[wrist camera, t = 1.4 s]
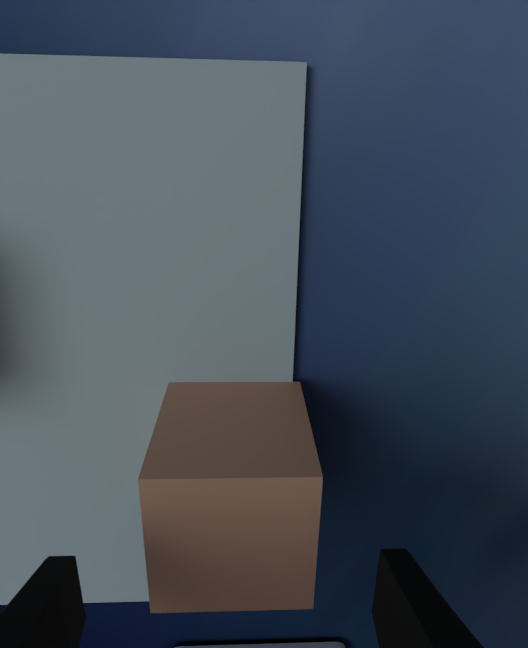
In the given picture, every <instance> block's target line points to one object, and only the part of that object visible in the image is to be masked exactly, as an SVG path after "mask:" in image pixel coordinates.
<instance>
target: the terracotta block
mask: <svg viewBox="0 0 528 648" xmlns="http://www.w3.org/2000/svg"><path fill="white" fill-rule="evenodd" d="M322 484H323V475H322V471H321V467H320V462H319V458H318V454H317V450H316V446H315V442H314V438H313V434H312V430H311V426H310V421H309V417H308V413H307V409H306V405H305V401H304V397H303V393H302V389H301V384H300V382H169V383H168V386H167V389H166V392H165V396H164V399H163V402H162V405H161V408H160V411H159V415H158V418H157V421H156V424H155V427H154V430H153V433H152V437H151V440H150V443H149V446H148V449H147V452H146V455H145V459H144V462H143V465H142V468H141V471H140V474H139V478H138V486H139V497H140V507H141V518H142V528H143V539H144V549H145V560H146V571H147V581H148V592H149V602H150V613H176V612H215V611H253V610H291V609H313V602H314V589H315V576H316V563H317V550H318V537H319V523H320V510H321V497H322Z"/></svg>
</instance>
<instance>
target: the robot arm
mask: <svg viewBox="0 0 528 648" xmlns="http://www.w3.org/2000/svg"><path fill="white" fill-rule="evenodd" d="M372 613H373V618H374V623H375V628H376V634H377V638H378V643H379V648H484V647H483V646H482V645H481V644H480V643H479V641H478V640H477V639H476V638H475V637H474V635H473V634H472V633H471V632H470V631H469V629H468V628H467V627H466V626H465V624H464V623H463V622H462V621H461V620H460V618H459V617H458V616H457V615H456V613H455V612H454V611H453V610H452V608H451V607H450V606H449V605H448V603H447V602H446V601H445V599H444V598H443V597H442V596H441V594H440V593H439V592H438V590H437V589H436V588H435V586H434V585H433V584H432V582H431V581H430V580H429V578H428V577H427V576H426V574H425V573H424V572H423V570H422V569H421V568H420V566H419V565H418V564H417V562H416V561H415V559H414V558H413V557H412V555H411V554H410V553H409V552H408V551H407V550H406V549H381V550H380V557H379V564H378V571H377V578H376V585H375V592H374V600H373V607H372ZM85 619H86V616H85V610H84V604H83V598H82V592H81V586H80V580H79V574H78V568H77V562H76V556H48V557H47V558H46V559H45V560H44V561H43V563H42V564H41V565H40V566H39V567H38V569H37V570H36V571H35V572H34V573H33V575H32V576H31V577H30V578H29V579H28V581H27V582H26V583H25V584H24V586H23V587H22V588H21V589H20V590H19V592H18V593H17V594H16V595H15V596H14V597H13V599H12V600H11V601H10V602H9V603H8V605H7V606H6V607H5V608H4V609H3V610H2V612H1V613H0V648H79V645H80V640H81V636H82V632H83V628H84V624H85ZM175 648H346V647H345V645H344V644H343V643H340V642H303V643H269V644H235V645H201V646H178V647H175Z"/></svg>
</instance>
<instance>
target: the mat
mask: <svg viewBox="0 0 528 648" xmlns="http://www.w3.org/2000/svg"><path fill="white" fill-rule="evenodd" d="M306 70H307V62H281V61H245V60H210V59H174V58H138V57H102V56H66V55H31V54H0V605H8V603H9V602H10V601H11V600H12V599H13V597H14V596H15V595H16V594H17V593H18V592H19V590H20V589H21V588H22V587H23V586H24V584H25V583H26V582H27V581H28V579H29V578H30V577H31V576H32V575H33V573H34V572H35V571H36V570H37V569H38V567H39V566H40V565H41V564H42V563H43V561H44V560H45V559H46V558H47V557H48V556H76V562H77V568H78V574H79V580H80V586H81V592H82V598H83V603H95V602H135V601H149V592H148V581H147V571H146V560H145V549H144V539H143V528H142V518H141V507H140V497H139V486H138V478H139V474H140V471H141V468H142V465H143V462H144V459H145V455H146V452H147V449H148V446H149V443H150V440H151V437H152V433H153V430H154V427H155V424H156V421H157V418H158V415H159V411H160V408H161V405H162V402H163V399H164V396H165V392H166V389H167V386H168V383H169V382H293V362H294V340H295V318H296V295H297V273H298V250H299V228H300V205H301V183H302V160H303V138H304V115H305V93H306Z"/></svg>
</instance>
